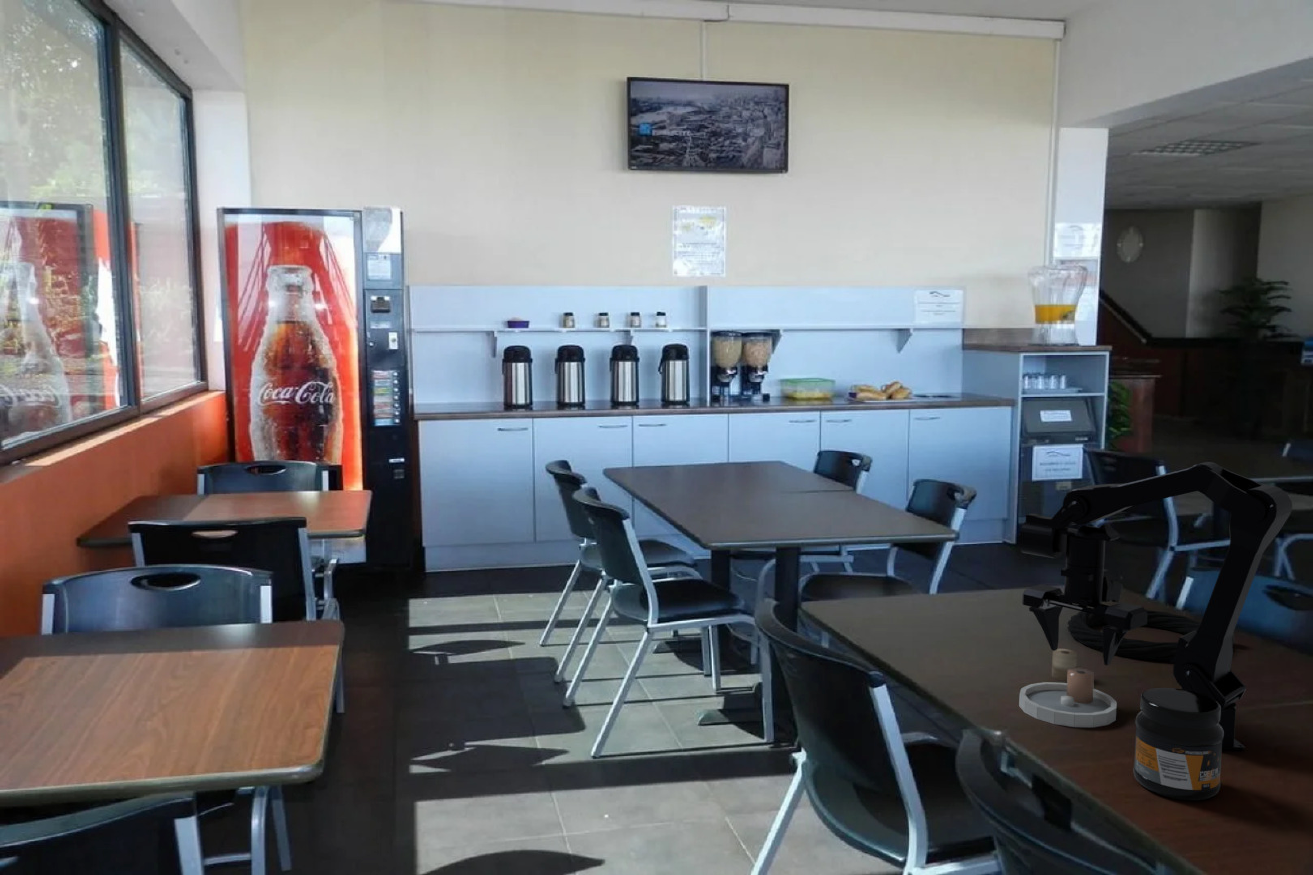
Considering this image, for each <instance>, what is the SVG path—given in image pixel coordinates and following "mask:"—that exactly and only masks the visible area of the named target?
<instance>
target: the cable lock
mask: <svg viewBox="0 0 1313 875" xmlns="http://www.w3.org/2000/svg"><path fill="white" fill-rule="evenodd" d="M1145 611H1146V612H1147V614H1148V615H1147V624H1146V625H1143V626H1142V627H1149V628H1158V629H1161V630H1165V631H1171V632H1176V633H1179V634H1181V635H1183V636H1184V635H1186V634H1188V633H1190V632H1192V631H1194V630H1196V631H1198V629H1199V627H1200V625H1201V622H1202V621H1201V622H1200V621H1198V620H1196V619H1192V618H1190V617H1188V616H1184V615H1178V614H1174V613H1170V612H1166V611H1157V610H1149V609H1145ZM1067 625H1068V626H1067V630H1068V632H1069V634H1070V635H1071V637H1072V638H1073V639H1075V640H1076V642H1078V643H1080V644H1082V645H1085V646H1087V647H1089V648H1091V649H1093V650H1095V651H1096V650H1097V651H1100V652H1102V653H1103V631H1100V630H1095V629H1093V627H1097V626H1106V625H1108V624H1107V622H1106V621H1105V617H1103V616H1099V615H1095V614H1090V613H1086V612H1082V611H1078V612H1077V613H1076V614H1074V615H1071V616H1070V619H1069V620H1068V621H1067ZM1234 643H1235V633H1234V632H1233V634H1232V646H1233V645H1234ZM1177 644H1178V641H1177V642H1172V641H1171V642H1169V641H1168V642H1167V641H1166V642H1165V641H1164V642H1163V641H1161V642H1160V641H1159V642H1156V641H1150V640H1149V641H1148V640H1143V639H1142V640H1141V639H1132V638H1126V637H1123V639H1122V640H1121V642H1120V644H1119V646H1118V648H1117V650H1116V653H1115V655H1116V656H1119V657H1122V658H1132V659H1133V658H1134V659H1137V660H1144V661H1152V662H1154V661H1155V662H1158V661H1159V662H1160V661H1162V662H1170V660H1171V659H1172V658H1173V657H1174V656H1175V654H1176V650H1177ZM1115 655H1114V656H1115Z"/></svg>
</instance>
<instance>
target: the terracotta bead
mask: <svg viewBox="0 0 1313 875" xmlns="http://www.w3.org/2000/svg"><path fill="white" fill-rule="evenodd" d="M1094 682H1095V673H1094V672H1093V671H1092V670H1089V669H1086V668H1081V667H1080V668H1079V667H1077V668H1071V669H1068V673H1067V681H1066V683H1067V696H1071V697H1073V698H1074V702H1076V703H1091V702H1093V689H1095V688H1094V687H1095V686H1094V685H1095V683H1094Z"/></svg>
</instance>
